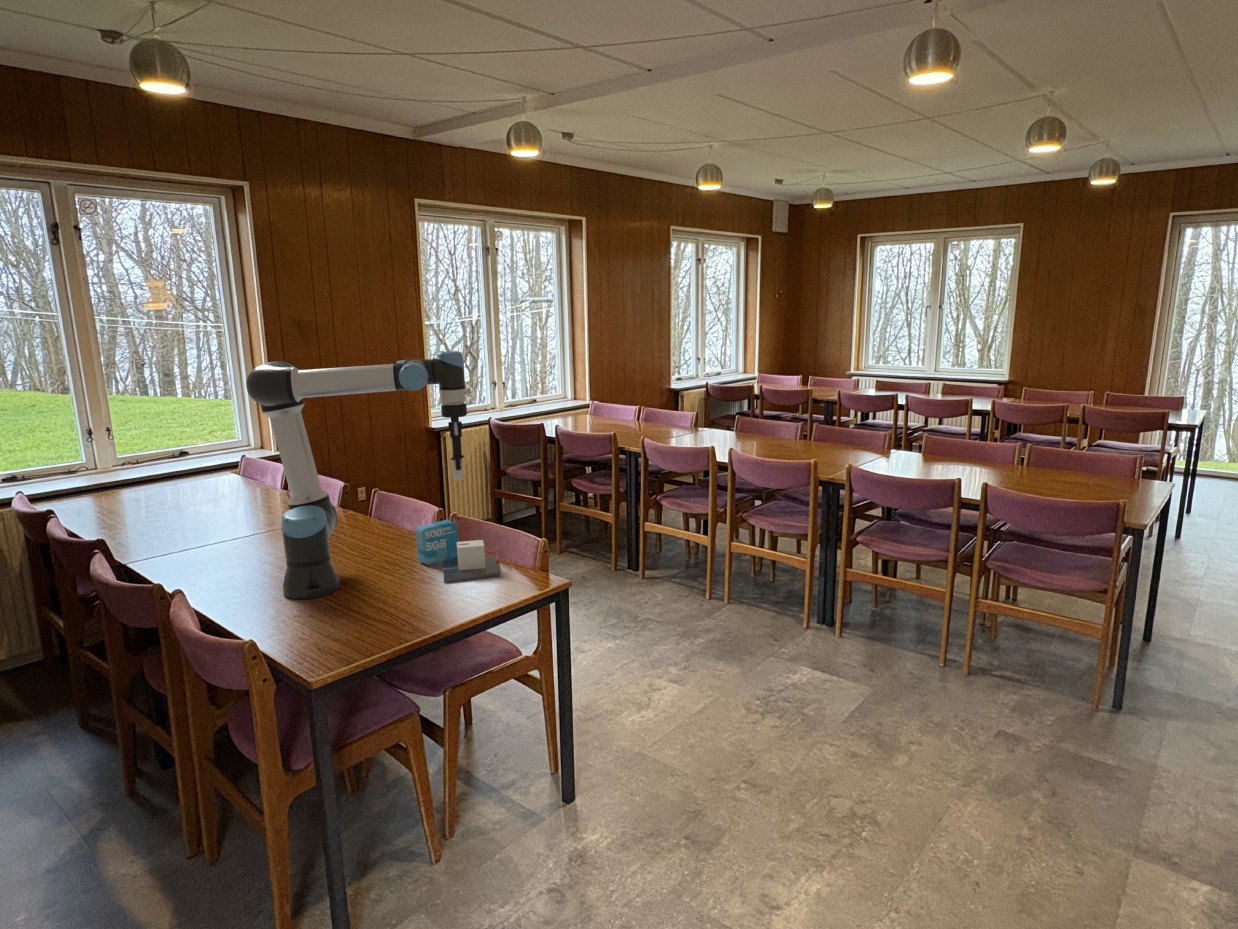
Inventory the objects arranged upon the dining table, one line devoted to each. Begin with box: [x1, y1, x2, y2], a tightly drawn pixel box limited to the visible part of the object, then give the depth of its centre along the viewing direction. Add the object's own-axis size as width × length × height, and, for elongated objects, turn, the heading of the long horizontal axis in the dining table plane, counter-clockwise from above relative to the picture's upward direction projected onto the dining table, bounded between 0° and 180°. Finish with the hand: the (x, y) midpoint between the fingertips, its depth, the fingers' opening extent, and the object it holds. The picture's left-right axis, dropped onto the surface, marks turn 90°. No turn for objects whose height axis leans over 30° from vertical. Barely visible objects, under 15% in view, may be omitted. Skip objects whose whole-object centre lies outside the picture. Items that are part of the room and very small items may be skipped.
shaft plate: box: [442, 555, 501, 584], centre depth 233 cm, size 16×16×6 cm
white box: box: [457, 539, 486, 571], centre depth 233 cm, size 6×8×7 cm
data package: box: [415, 519, 459, 566], centre depth 243 cm, size 12×4×12 cm, turn 130°
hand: (459, 479), depth 237 cm, fingers closed
